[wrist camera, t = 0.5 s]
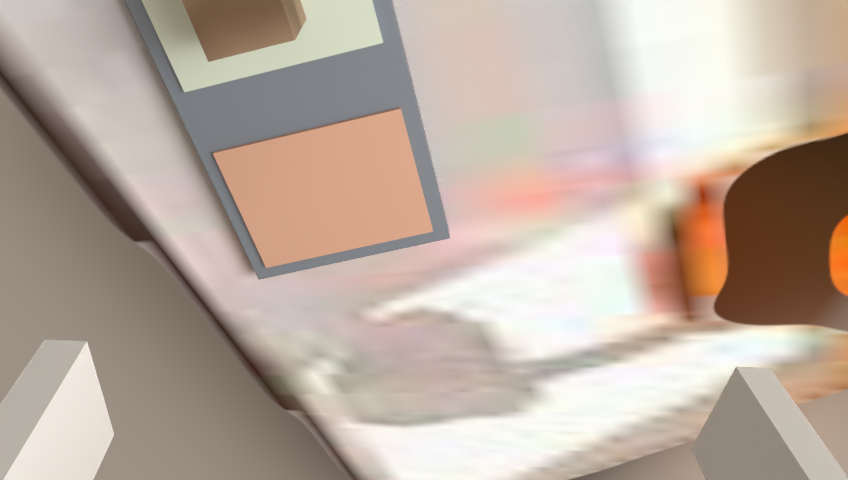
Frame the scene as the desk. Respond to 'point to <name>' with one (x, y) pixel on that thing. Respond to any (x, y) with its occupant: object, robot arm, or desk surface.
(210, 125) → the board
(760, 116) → the desk surface
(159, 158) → the desk surface
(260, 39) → the walnut block
